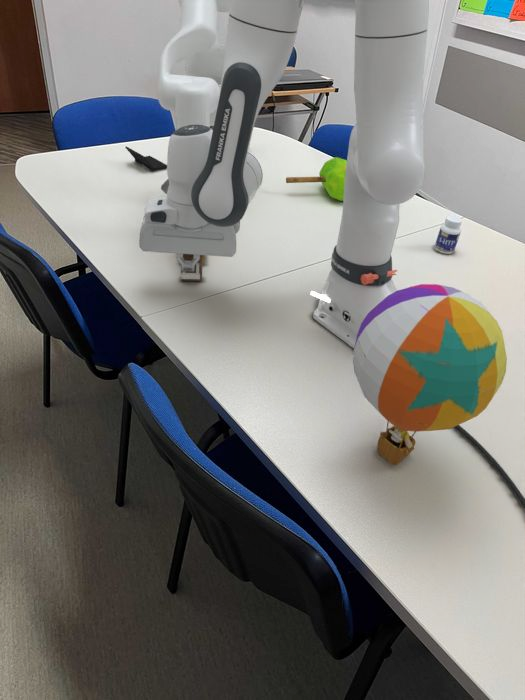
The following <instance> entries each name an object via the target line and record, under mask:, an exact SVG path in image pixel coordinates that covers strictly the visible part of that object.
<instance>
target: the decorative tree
mask: <svg viewBox="0 0 525 700" xmlns="http://www.w3.org/2000/svg"><path fill="white" fill-rule="evenodd" d="M346 165H347V159H344V158H341V157H337V156H335V157H333V158H330V159H328V160H327V161H325V162H324V164H323V165H322V167H321V168H320V170H319V176H289V177H286V178H285V184H296V183H297V184H299V183H300V184H303V183H305V184H306V183H321V184H322V186H323V188H325V190H326V192H327V193H328V195H329V197H331V198H332V199H335V200H337V201H338V202H340V201H341V202H343V199H344V186H345V175H346Z"/></svg>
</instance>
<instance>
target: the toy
mask: <svg viewBox="0 0 525 700" xmlns="http://www.w3.org/2000/svg"><path fill="white" fill-rule="evenodd" d="M507 360H508V358H507V351H506V344H505V340H504V334H503V330H502V329H501V327H500V325H499V323H498V320H497V319H496V318H495V317H494V316H493V314H492V313H491V312H490V311H489V309H488V308H487V307H486V306H485V305H484V304H483V303H482V302H481V301H480V300H478V299H477V298H475V297H474V296H473V295H470V293H467V292H465V291H463V290H460V289H457V288H454V287H453V286H452V287H451V286H447V285H441V284H438V283H437V284H433V283H432V284H430V283H429V284H428V283H426V284H425V283H421V284H416V285H413V286H409V287H405V288H402V289H399V290H398V289H397V291H396V292H394V293H392V294H390V295H388V296H387V297H386V298H385V299H384V300H382V301H381V302H380V303H379V304H378V305H377V306H376V307H374V308H373V309H372V310H371V311H370V312H369V313H368V314H367V316H366V317H365V319H364V320H363V322H362V323H361V326H360V328H359V331H358V334H357V338H356V343H355V347H354V348H353V355H352V366H353V372H354V374H355V377H356V379H357V382H358V384H359V387H360V389H361V390H360V391H361V392H362V394H363V396H364V398H365V399H366V400H367V401H368V403H370V405H371V406H373V408H374V409H375V410H376V411H377V412H378V413H379V414H380V415H381V416H382V417H383V418H384V419H385V420H386V421H387V422H386V431H380V436H379V437H378V440H377V444H376V452H377V454H378V455H379V456H381V458H383V459H385V461H387V462H388V463H389V464H391V465H392V466H393V467H396V466H398V465H399V464H400V463H402V462H403V461H404V460H406V458H408V457H409V456H410V455H411V453H412V452H413V451H414V450H415V445H416V439H415V438H414V436H415V434H416V433H417V432H432V431H433V432H434V431H443V430H451V429H453V428H454V427H455V426H457V425H461V424H464V423H465V422H467V421H470V420H472V419H474V418H476V417H478V416H479V415H480V414H481V413H483V412H484V411H485V410H486V409H487V408H488V406H489V404H490V403H491V401H492V400H493V398H494V397H495V395H496V394H497V392H498V390H499V389H500V387H501V386H502V384H503V382H504V378H505V376H506V373H507V362H508V361H507ZM389 423H390V424H391V425H392V426H391V427H389ZM409 432H413V433H412V435H410V433H409Z"/></svg>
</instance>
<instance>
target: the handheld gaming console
mask: <svg viewBox="0 0 525 700" xmlns="http://www.w3.org/2000/svg"><path fill="white" fill-rule="evenodd" d="M125 149H126V151H128V153H129V154H130V156H132V158H133V159H134V162H135V163H137V164H139V165H141V166H143V167H145V168H146V169H147V170H150V171H151V172H156V171H161V170H167V163H164V162H162V161H161V160H159V159H157V158H155V157H153V156H151V155H145V156H144V155H142V154H141V153H139V152H137V151H136V150H134V149H132V148H130V147H128V146H125Z"/></svg>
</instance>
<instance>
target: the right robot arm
mask: <svg viewBox="0 0 525 700" xmlns="http://www.w3.org/2000/svg"><path fill="white" fill-rule="evenodd" d="M305 1H306V0H231V4H230V10H229V13H228V18H227V25H226V34H225V42H224V44H225V53H224V64H223V72H222V81H221V85H220V86H221V90H220V97H219V102H218V107H217V112H216V117H215V122H214V126H213V128H211V126H210V127H207V126H204V125H188V126H183V127H181V128H179V129H177V130H176V129H175V130H174V131H173V132H172V133H171V135H170V136H169V140H168V145H167V156H166V157H167V158H166V159H167V160H166V165H167V168H166V175H167V179H169V188H168V191H167V194H166V195H163V196H159V197H154V198H150V199H149V200H147V202H146V204H145V207H144V211H143V212H144V213H143V214H144V216H143V217H142V220H141V225H140V231H139V238H138V247H139V248H140V250H142V252H147V253H148V252H149V253H164V254H165V253H166V254H175V256H176V260H177V261H178V263H179V265H180V272H181V271H194V267H195V265H196V263H197V262H198V261H199V259H200V255H205V256H210V257H223V258H224V257H225V258H226V257H227V258H233V257H235V255H236V254H237V234H238V233H239V231H240V227H241V220H242V219H243V217H244V216H245V214H246V212H247V210H248V207H249V205H250V204H251V202H252V200H253V199H254V197H255V195H256V194H257V193H258V190H259V189H260V188H261V186H262V182H263V169H262V165H261V164H260V162H259V161H258V159H257V157H256V156H254V155H253V154H252V153H250V152H249V150H250V149H249V148H250V145H251V141H252V136H253V131H254V127H255V124H256V121H257V119H258V116H259V113H260V112H261V110H262V107H263V106H264V104H265V102H266V100H267V99H268V97H269V96H270V95H271V93H272V92H273V90H274V89H275V87H276V86H277V85H278V83H279V82H280V81H281V79H282V78H283V76H284V73H285V71H286V68H287V66H288V63H289V61H290V58H291V55H292V52H293V50H294V47H295V43H296V38H297V34H298V29H299V25H300V19H301V15H302V11H303V7H304V3H305ZM353 2H354V9H355V19H354V21H355V24H354V26H355V27H354V64H353V65H354V68H353V69H354V73H353V76H354V77H353V92H354V102H355V103H354V105H355V117H356V119H355V120H356V123H355V125H354V126H353V127H352V129H351V132H350V135H349V141H348V149H347V158H346V160H347V165H346V175H345V186H344V199H343V201H342V212H341V218H340V223H339V230H338V235H337V240H336V245H335V246H333V247H334V248H333V251H332V253H331V254H332V255H331V262H330V266H331V269H330V271H329V274H328V276H327V277H326V280H325V282H324V284H323V285H324V286H323V288H322V290H321V291H322V292H321V294H320V293H318V292H316V291H313V290H311V291H310V296H312V297H316V298H317V299H319V301H318V303H317V307H316V309H315V310H314V311H313V315H312V318H313V319H314V320H315V321H316V322H317V323H319V324H320V325H321V326H323V327H324V328H325V329H327V330H328V331H330V332H331V333H332V334H333V335H335V336H336V337H338V338H339V339H340V340H342V342H344V343H346V344H347V345H348V346H349V347H351V348H352V349H354V347H355V343H356V338H357V334H358V331H359V328H360V326H361V323H362V322H363V320H364V319H365V317H366V316H367V314H368V313H369V312H370V311H371V310H372V309H373V308H374V307H376V306H377V305H378V304H379V303H380V302H381V301H382V300H384V299H385V298H386V297H387V296H388V295H390V294H392V293H394V292H396V291H398V289H397V287H396V285H395V283H394V280H393V276H397V273H396V272H398V269H393V258H392V252H393V248H394V244H395V241H396V237H397V234H398V228H399V225H400V206H401V204H404V203H407V202H408V201H409V200H411V199H412V198H414V197H415V196H416V194H418V192H419V191H420V190H421V188H422V186H423V183H424V180H425V178H426V177H425V176H426V169H425V155H424V145H425V144H424V143H425V132H424V131H425V127H424V125H425V124H424V121H425V120H424V97H423V96H424V95H423V91H424V89H423V88H424V87H423V85H424V72H425V71H424V70H425V61H426V51H427V50H426V49H427V37H428V29H429V28H428V27H429V15H430V14H429V12H430V0H354V1H353ZM183 254H193V260H192V261H186V260H184V258H183ZM453 428H454V429H455V430H457V431H458V432H459V433H460V434H461V435H462V436H463V437H464V438H465V439H467V440H468V441H469V443H471V444H472V445H473V446H474V447H475V448H476V449H477V450H478V451H479V452H480V453H481V454H482V455H483V457H485V458H486V459H487V461H488V462H489V463H490V464H491V466H493V468H494V469H495V470H496V471H497V472H498V474H499V475H500V476H501V477H502V479H503V480H504V481H505V483H506V485H507V486H508V487H509V488H510V490H511V491H512V492H513V494H514V495H515V497H516V499H517V500H518V501H519V503H520V504H521V506H522V507H523V509H524V510H525V497H524V495H523V494H522V493H521V491H520V490H519V488H518V486H516V484H515V483H514V481H513V480H512V479H511V477H510V476H509V475H508V473H507V472H506V470H504V468H503V467H502V466H501V465H500V464H499V462H498V461H497V460H496V459H495V458H494V457H493V456H492V455H491V453H490V452H488V450H486V448H485V447H484V446H483V445H481V443H480V442H479V441H478V440H477V439H476V438H475V437H474V436H473V435H471V434H470V433H469V432H468V431H467V430H466V429H465V428H463V426H461V424H459V425H457V426H455V427H453Z"/></svg>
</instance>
